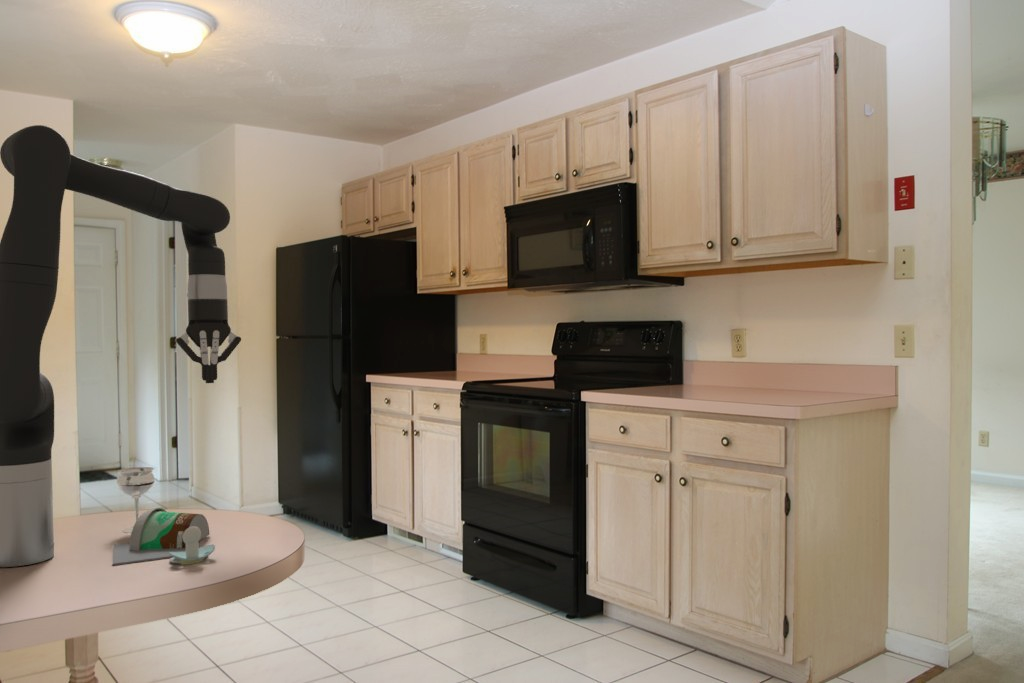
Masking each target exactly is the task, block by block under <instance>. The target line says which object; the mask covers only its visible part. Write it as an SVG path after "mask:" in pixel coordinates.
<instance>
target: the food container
mask: <svg viewBox="0 0 1024 683" xmlns="http://www.w3.org/2000/svg"><path fill="white" fill-rule="evenodd" d="M208 522H209V521H208V520H207V517H205V515H204V514H202V513H190V512H189V513H188V512H174V511H167V510H166V509H164V508H162V507H157V508H153V509H149V510H147V511H145V512H143V513H141V514H140V515H139V516H138V519H137V521H136V520H135V522H134V524H133V526H134V527H133V526H132V527H133V530H132V533H130V538H129V543H130V548H129V550H136V551H139V550H145V549H174V548H186V544H185V543H184V541H183V538H182V537H183V533H184V532H185V530H186V529H187V528H189V527H192V526H196V527H198V528H199V529H200V531H201V537H200V540H199V541H202V540H203V539H204V538H205V539H206V538H207V537H208V536H210V527H209V523H208Z"/></svg>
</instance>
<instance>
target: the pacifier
mask: <svg viewBox="0 0 1024 683" xmlns="http://www.w3.org/2000/svg"><path fill="white" fill-rule="evenodd" d="M200 537H201V531H200V529H199V528H198V527H196V526H192V527H189V528H187V529H186V530H185V532H184V533H183V537H182V538H183V541H184V543H185V544H186V551H185V552H169V554H170V555H171V556H172V558H169V560H168V561H169V562H170V563H172V564H180V565H190V564H191V565H192V564H196V563H200V562H202V561H204V559H205V558H207V557H208V556H210V555H211V554H213V552H214V551H215V549H216V545H215V544H208V545H204V546H202V547H201V546H200V544H199V541H201V540H200ZM199 546H200V548H199Z"/></svg>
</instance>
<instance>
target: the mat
mask: <svg viewBox="0 0 1024 683" xmlns="http://www.w3.org/2000/svg"><path fill="white" fill-rule="evenodd" d="M129 548H130V542H125V543H124V542H123V543H118V544H117V543H116V544H113V550H112V566H119V565H128V564H134V563H143V562H150V561H155V560H164V559H171V558H173V557H172V556H171V555H170V554H169V552H185V551H186V548H174V549H145V550H139V551H136V550H129ZM199 548H201V546H200V545H199Z"/></svg>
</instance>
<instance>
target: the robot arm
mask: <svg viewBox="0 0 1024 683" xmlns="http://www.w3.org/2000/svg"><path fill="white" fill-rule="evenodd" d="M0 160H1V163H2V166H3V167H4V168H5V170H7V172H8V173H9V174H10V175H12V176H13V198H12V205H11V209H10V213H9V215H8V218H7V221H6V224H5V227H4V230H3V233H2V236H1V238H0V568H8V567H9V568H10V567H12V568H13V567H21V566H27V565H28V566H29V565H33V564H37V563H41V562H44V561H47V560H50V559H51V558H53V557H54V556H55V541H54V540H55V538H54V537H55V536H54V505H53V504H54V502H53V501H54V498H53V468H52V467H53V466H52V464H53V460H52V448H53V444H54V439H55V394H54V389H53V386H52V383H51V382H50V380H49V379H48V377H46V375H44V374H42V373H41V365H40V364H41V363H40V362H41V348H42V341H43V338H44V334H45V331H46V328H47V326H48V323H49V321H50V318H51V314H52V311H53V308H54V306H55V302H56V299H57V297H56V296H57V291H58V281H59V280H58V279H59V278H58V277H59V267H60V246H61V229H62V228H61V224H62V222H61V220H62V218H61V216H62V208H63V207H62V206H63V200H64V196H65V191H66V190H68V191H72V192H75V193H79V194H83V195H86V196H90V197H94V198H96V199H99V200H102V201H106V202H109V203H111V204H114V205H117V206H120V207H123V208H125V209H128V210H131V211H133V212H137V213H139V214H143V215H145V216H147V217H151V218H152V219H153V218H154V219H157V220H160V221H164V222H165V221H166V222H179V223H181V225H180V226H181V230H182V231H181V232H182V237H183V240H184V244H185V248H186V251H187V257H188V258H187V262H188V263H187V268H188V269H187V270H188V279H187V293H186V296H187V312H188V313H187V321H188V322H187V324H188V325H187V327H186V328H185V333H184V334H182V335H181V336H179V337H177V338H176V339H175V343H176V344H177V345H178V346H179V347H180V348H181V349H182V351H183V352H184V353H185V354H186V355H187V356H188V357H189V359H191V361H192V362H195V363H198V364H200V366H201V379H202V381H204V382H205V384H215V381H217V379H218V364H219V363H222V362H226V360H227V359H228V358H229V356H231V354H232V353H233V351H234V350H235V349H236V347H237V346H238V345H239V344H240V342H241V341H242V338H241V337H240V336H237V335H236V334H235V333H234V332H232V328H231V327H230V325H229V310H228V287H227V286H228V285H227V279H226V258H225V252H224V250H223V249H222V248H221V247H218V243H217V239H216V234H218V233H220V232H222V231H224V230H225V229H227V227H228V226H229V224H230V220H231V216H230V211H229V209H228V207H227V206H226V205H225V204H224V203H223V202H222V201H221V200H219V199H218V198H215V197H213V196H210V195H207V194H202V193H199V192H196V191H195V192H194V191H191V190H187V189H186V190H185V189H181V188H177V187H174V186H172V185H170V184H167V183H164V182H163V181H159V180H156V179H154V178H151V177H149V176H146V175H143V174H140V173H135V172H133V171H128V170H124V169H119V168H114V167H110V166H106V165H103V164H102V165H101V164H99V163H96V162H93V161H89V160H86V159H83V158H81V157H78V156H76V155H74V154H72V153H71V149H70V147H69V143H68V142H67V141H66V139H65V137H64V136H63V135H62V134H61V133H60V132H58V131H57V130H56V129H54V128H53V127H50V126H47V125H40V124H39V125H30V126H27V127H26V126H25V127H24V128H22V129H19V130H18V131H15V132H13V133H12V134H11V135H9V136H8V137H7V138H6V139H5V140H4V142H2V145H1V146H0ZM189 339H190V340H191V341H192V342H193V343H194V345H195V346H196V347H197V348H199V352H200V353H199V355H200V356H199V355H197V353H196V352H194V350H193V349H192V348H191V347H190V346H189V344H190V340H189ZM226 339H227V343H228V345H227V346H226V347H225V349H223V351H222V352H221V354H220V355H219V347H221V346H222V345H223V344H224V342H225V341H226ZM208 348H209V350H210V352H209V351H208ZM209 353H210V356H209ZM209 357H210V358H209Z"/></svg>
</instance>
